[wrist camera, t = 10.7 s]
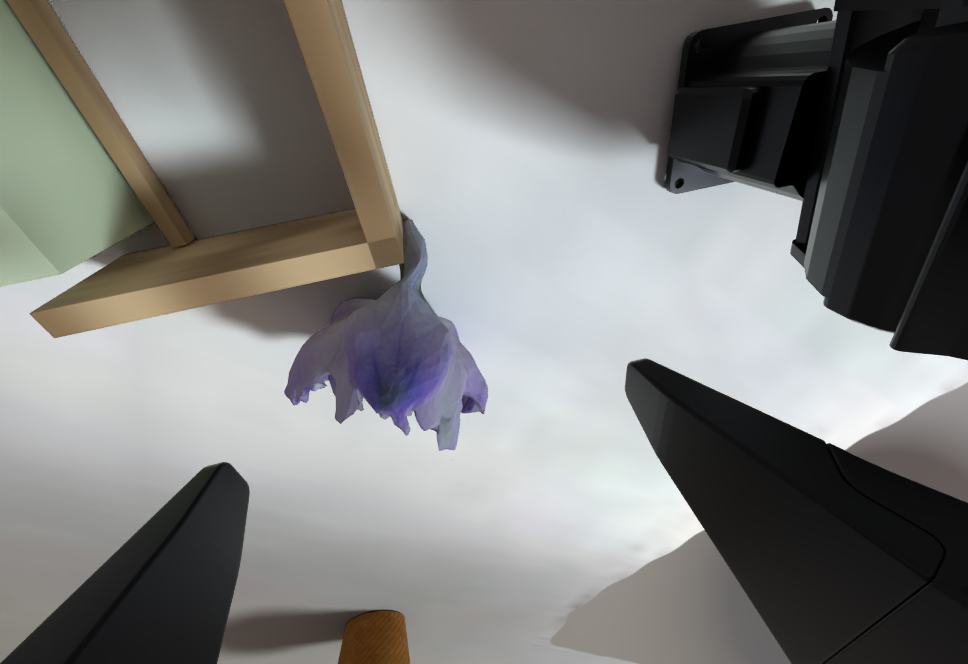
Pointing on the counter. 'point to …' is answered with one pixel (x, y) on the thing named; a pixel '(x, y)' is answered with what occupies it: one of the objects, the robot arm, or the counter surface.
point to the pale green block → (52, 170)
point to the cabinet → (242, 255)
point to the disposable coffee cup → (375, 639)
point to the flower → (394, 357)
